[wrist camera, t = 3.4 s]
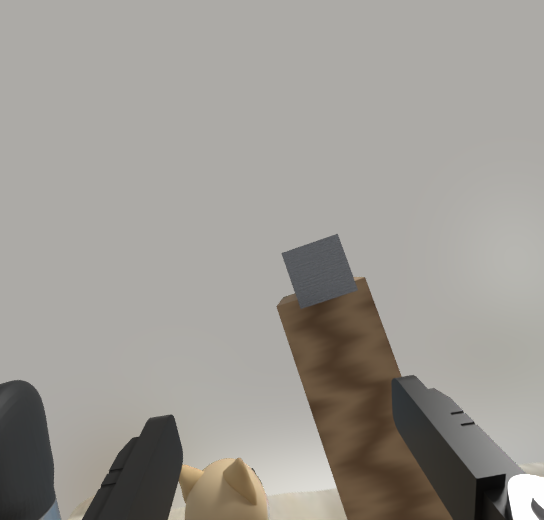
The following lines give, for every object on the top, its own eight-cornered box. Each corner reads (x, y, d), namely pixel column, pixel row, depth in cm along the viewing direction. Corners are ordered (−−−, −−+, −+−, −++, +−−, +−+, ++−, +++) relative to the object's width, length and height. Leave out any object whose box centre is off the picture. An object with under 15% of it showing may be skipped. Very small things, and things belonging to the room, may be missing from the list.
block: (300, 309, 18) (281, 253, 18) (300, 290, 38) (291, 265, 39) (358, 290, 17) (337, 233, 18) (326, 282, 38) (317, 256, 38)
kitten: (310, 533, 36) (275, 424, 37) (293, 632, 26) (248, 482, 28) (220, 534, 40) (192, 438, 42) (178, 620, 31) (143, 491, 32)
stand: (383, 667, 22) (266, 310, 25) (354, 531, 34) (277, 299, 37) (514, 641, 21) (376, 273, 24) (437, 510, 33) (351, 274, 36)
